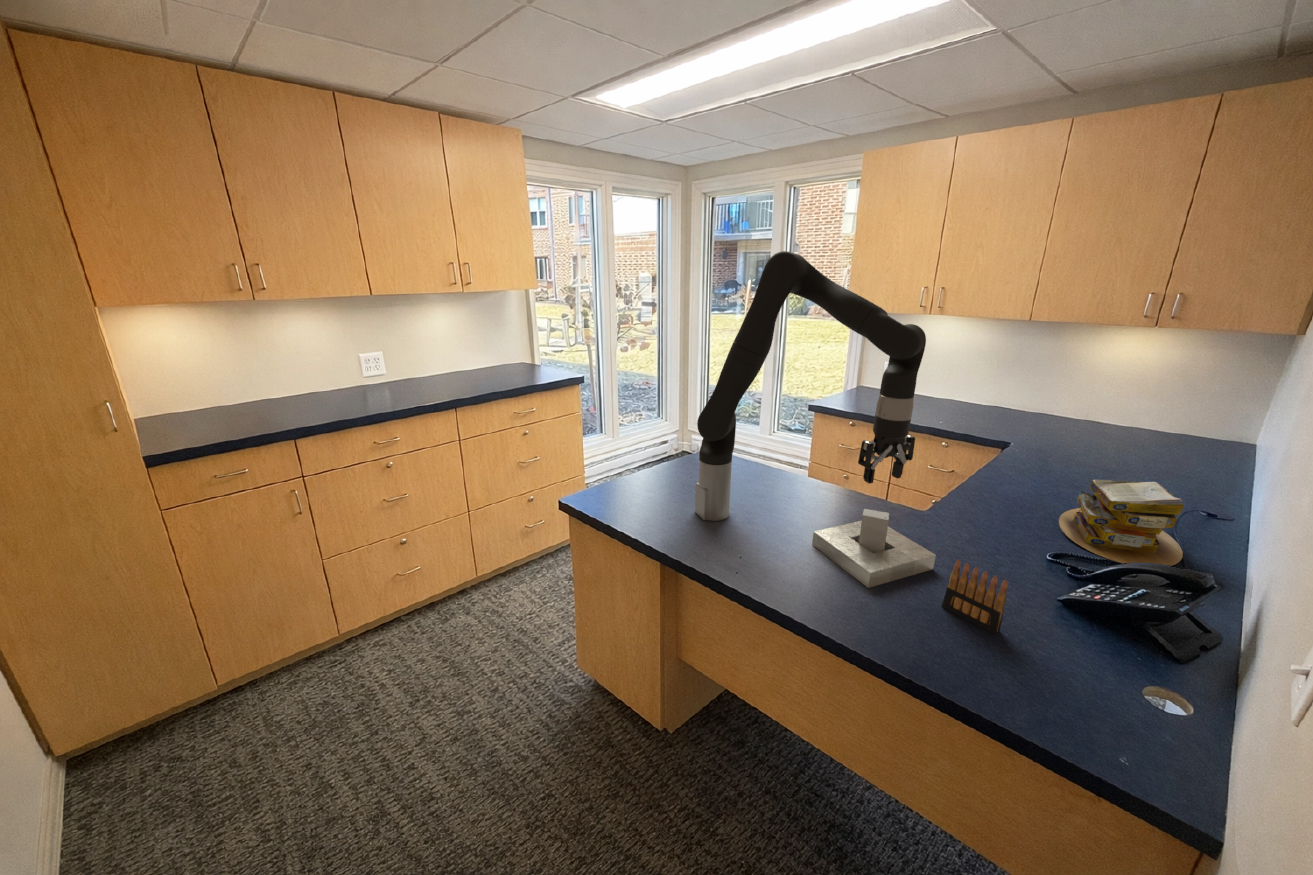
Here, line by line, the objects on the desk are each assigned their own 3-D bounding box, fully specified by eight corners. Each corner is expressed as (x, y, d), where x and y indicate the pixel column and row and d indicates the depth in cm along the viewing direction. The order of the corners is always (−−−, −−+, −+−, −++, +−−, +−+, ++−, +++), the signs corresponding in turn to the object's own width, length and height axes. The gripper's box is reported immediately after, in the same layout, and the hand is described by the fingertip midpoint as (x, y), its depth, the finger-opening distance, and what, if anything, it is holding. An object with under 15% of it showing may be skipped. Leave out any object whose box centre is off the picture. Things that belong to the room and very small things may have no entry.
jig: (868, 587, 116) (870, 572, 115) (812, 544, 134) (813, 531, 132) (932, 569, 123) (935, 554, 122) (871, 530, 141) (873, 517, 139)
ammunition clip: (941, 606, 110) (952, 558, 106) (945, 603, 111) (956, 555, 107) (995, 634, 102) (1009, 583, 98) (999, 630, 103) (1013, 580, 99)
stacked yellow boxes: (1195, 579, 119) (1222, 515, 114) (1064, 550, 131) (1082, 491, 125) (1162, 533, 139) (1183, 477, 134) (1051, 511, 151) (1066, 459, 146)
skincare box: (883, 555, 129) (890, 512, 125) (882, 563, 125) (889, 520, 121) (857, 549, 131) (863, 507, 127) (856, 557, 128) (862, 515, 124)
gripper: (881, 422, 110) (870, 490, 115) (930, 415, 115) (917, 481, 120) (856, 413, 117) (847, 478, 122) (903, 407, 122) (893, 469, 127)
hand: (882, 479), depth 121 cm, fingers open, 8 cm apart
